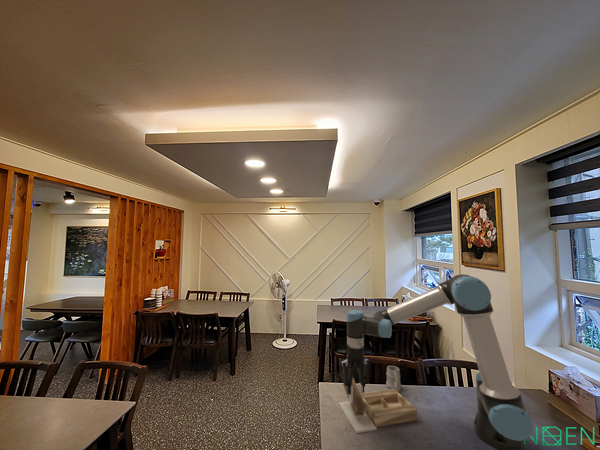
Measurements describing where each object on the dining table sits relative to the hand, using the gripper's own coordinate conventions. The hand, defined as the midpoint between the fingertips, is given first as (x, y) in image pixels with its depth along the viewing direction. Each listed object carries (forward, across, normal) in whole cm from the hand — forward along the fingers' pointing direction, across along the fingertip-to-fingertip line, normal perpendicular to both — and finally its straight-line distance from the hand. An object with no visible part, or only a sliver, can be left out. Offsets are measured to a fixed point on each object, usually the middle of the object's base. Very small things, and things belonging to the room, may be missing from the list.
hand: (355, 400), depth 107 cm
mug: (+7, +30, +15) cm, 34 cm away
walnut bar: (+1, 0, +3) cm, 3 cm away
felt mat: (+6, 0, 0) cm, 6 cm away
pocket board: (+6, +15, 0) cm, 16 cm away
